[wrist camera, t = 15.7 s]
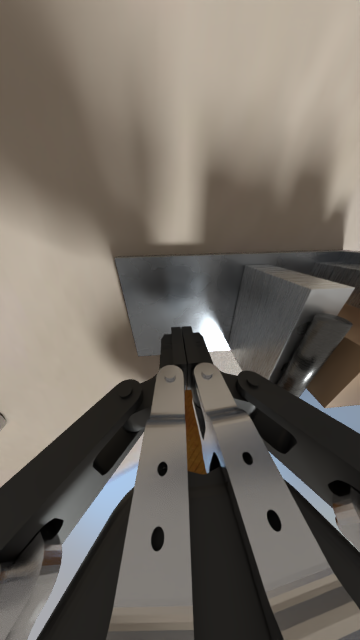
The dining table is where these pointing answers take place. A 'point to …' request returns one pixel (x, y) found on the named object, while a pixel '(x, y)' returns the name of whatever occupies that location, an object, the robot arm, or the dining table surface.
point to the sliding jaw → (287, 324)
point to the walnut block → (341, 368)
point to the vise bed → (211, 290)
